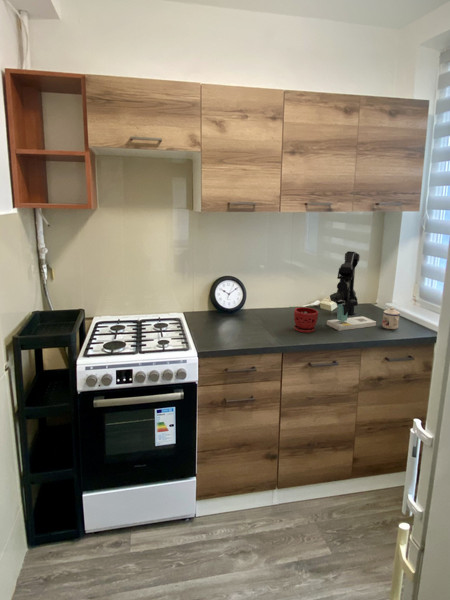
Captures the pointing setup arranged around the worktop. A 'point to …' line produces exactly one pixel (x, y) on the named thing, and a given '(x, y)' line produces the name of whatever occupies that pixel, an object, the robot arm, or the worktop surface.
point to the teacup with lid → (390, 319)
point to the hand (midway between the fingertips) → (342, 314)
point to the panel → (351, 323)
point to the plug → (341, 313)
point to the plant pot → (305, 319)
